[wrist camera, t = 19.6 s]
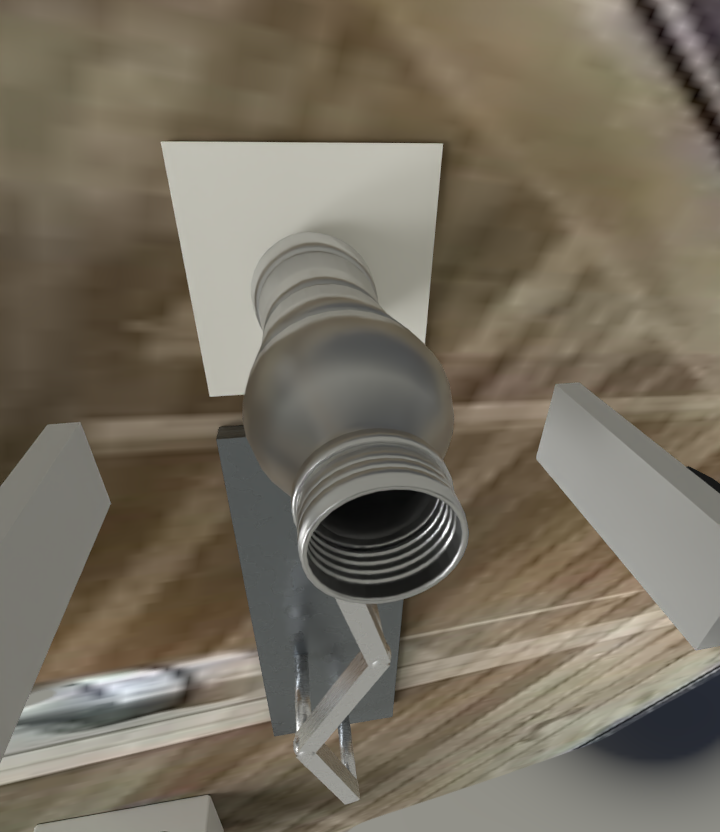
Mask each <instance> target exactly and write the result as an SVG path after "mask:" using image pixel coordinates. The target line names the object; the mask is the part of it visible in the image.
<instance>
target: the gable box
mask: <svg viewBox="0 0 720 832" xmlns="http://www.w3.org/2000/svg"><path fill="white" fill-rule="evenodd" d="M34 832H224V829H223V827H222V824H221V822H220V819H219V817H218V814H217V812H216V809H215V807H214V804H213V802H212V799H211V796H210V795H202V796H197V797H191V798H185V799H179V800H174V801H168V802H162V803H157V804H151V805H145V806H140V807H134V808H128V809H123V810H117V811H111V812H106V813H100V814H94V815H89V816H83V817H77V818H71V819H66V820H60V821H54V822H49V823H43V824H38V825H37V826H36V827H35V829H34Z"/></svg>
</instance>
